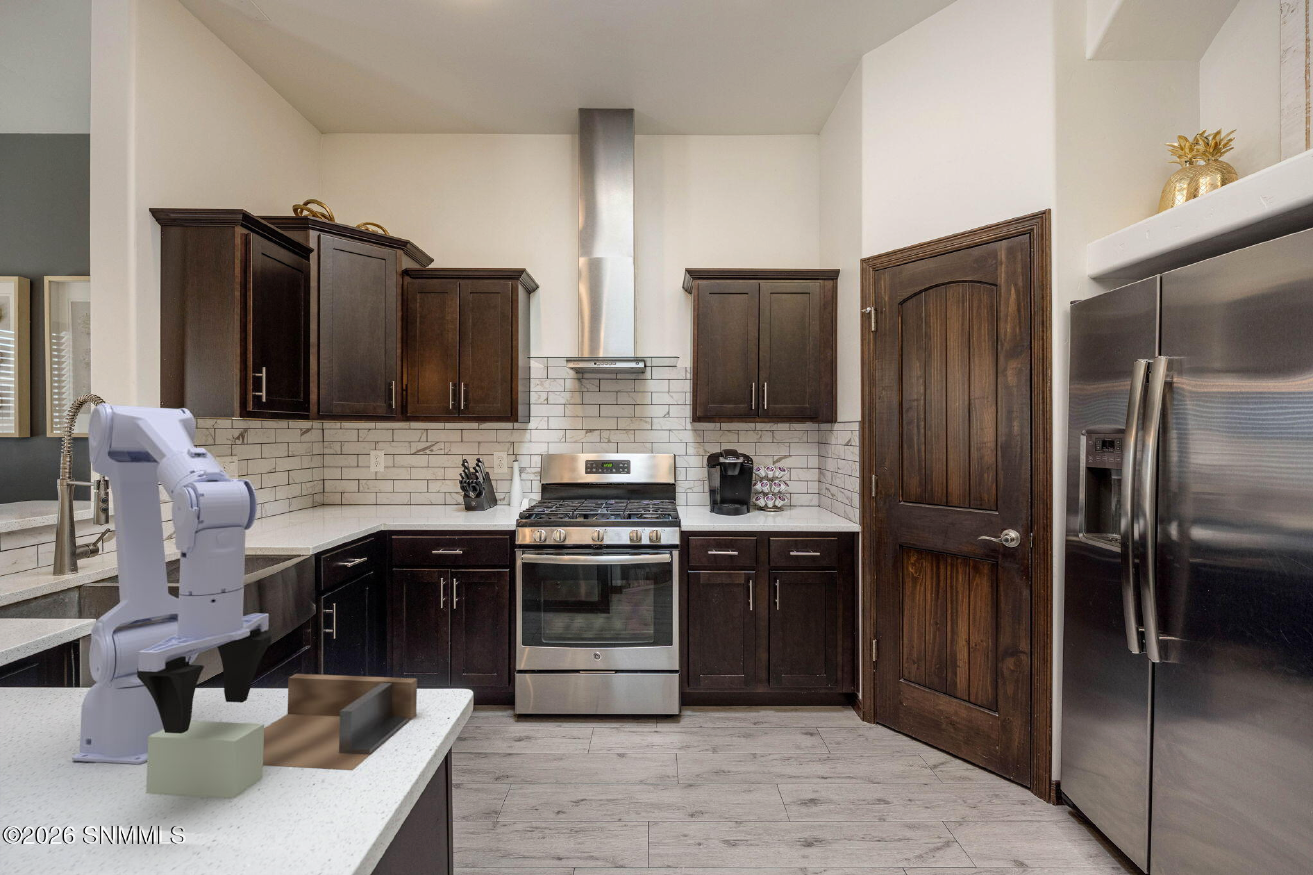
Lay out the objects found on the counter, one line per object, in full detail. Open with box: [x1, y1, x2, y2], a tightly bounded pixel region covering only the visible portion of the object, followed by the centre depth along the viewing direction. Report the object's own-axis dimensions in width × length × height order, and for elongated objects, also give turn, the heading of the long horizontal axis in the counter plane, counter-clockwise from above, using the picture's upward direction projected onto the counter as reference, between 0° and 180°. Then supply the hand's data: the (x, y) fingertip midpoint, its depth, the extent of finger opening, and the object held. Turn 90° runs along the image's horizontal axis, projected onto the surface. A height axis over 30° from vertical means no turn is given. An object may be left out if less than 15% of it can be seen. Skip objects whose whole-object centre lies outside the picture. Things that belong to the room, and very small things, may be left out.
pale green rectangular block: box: [145, 720, 265, 800], centre depth 64 cm, size 10×4×7 cm, turn 85°
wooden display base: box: [263, 673, 418, 771], centre depth 75 cm, size 18×14×6 cm
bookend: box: [339, 683, 409, 756], centre depth 75 cm, size 4×9×5 cm, turn 175°
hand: (208, 715), depth 64 cm, fingers open, 7 cm apart
